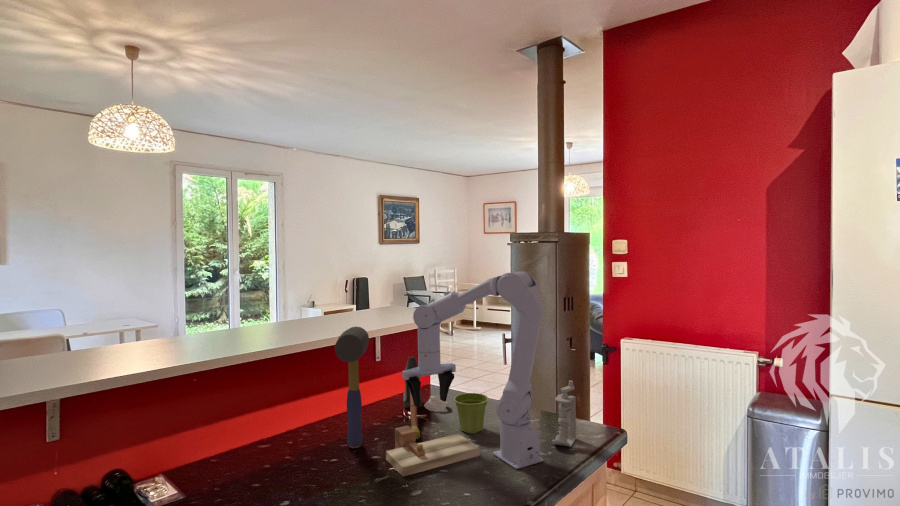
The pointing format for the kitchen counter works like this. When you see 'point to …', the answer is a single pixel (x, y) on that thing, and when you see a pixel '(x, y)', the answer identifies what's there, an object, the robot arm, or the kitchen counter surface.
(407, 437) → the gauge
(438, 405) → the pale grey rock
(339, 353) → the rubber mallet
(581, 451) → the kitchen counter surface
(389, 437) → the kitchen counter surface
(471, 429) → the plant pot
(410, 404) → the hammer
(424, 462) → the board
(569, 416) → the clamp
